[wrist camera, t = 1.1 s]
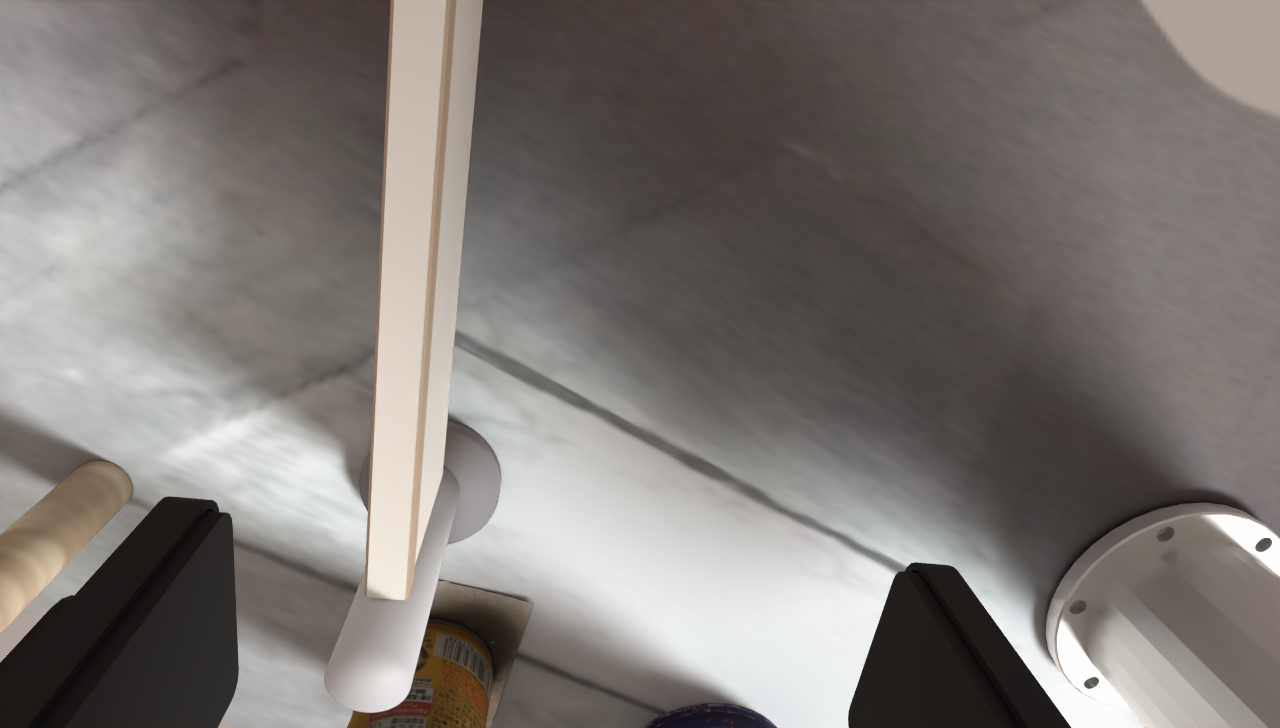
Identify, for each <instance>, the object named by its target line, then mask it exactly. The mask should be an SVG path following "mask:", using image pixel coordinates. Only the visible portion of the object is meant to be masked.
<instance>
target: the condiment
mask: <svg viewBox="0 0 1280 728" xmlns="http://www.w3.org/2000/svg"><path fill="white" fill-rule="evenodd" d="M532 607H533V603H530V602H526V601H522V600H517V599H516V598H513V597H508V596H504V595H501V594H496V593H491V592H486V591H484V590H480V589H476V588H471V587H466V586H461V585H456V584H452V583H450V582H448V581H438V582H437V586H436V590H435V594H434V598H433V602H432V606H431V610H430V614H429V618H428V622H427V626H426V630H425V634H424V637H423V641H422V645H421V649H420V653H419V657H418V661H417V665H416V669H415V673H414V677H413V681H412V685H411V689H410V691H409V693H408V695H407V697H406V698H405V699H404V700H403V701H402V702H401V703H400V704H398V705H397V706H395V707H393V708H391V709H389V710H386V711H382V712H374V713H366V712H359V711H354V710H353V715H352V718H351V720H350V722H349V724H348V727H347V728H486V727H491V725H492V722H493V719H494V716H495V713H496V710H497V707H498V704H499V701H500V698H501V696H502V693H503V689H504V686H505V684H506V681H507V678H508V675H509V672H510V670H511V667H512V664H513V661H514V659H515V656H516V652H517V650H518V647H519V644H520V641H521V638H522V635H523V632H524V629H525V627H526V624H527V621H528V619H529V616H530V613H531V610H532ZM492 641H494V643H491V642H492Z"/></svg>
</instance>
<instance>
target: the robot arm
mask: <svg viewBox="0 0 1280 728" xmlns="http://www.w3.org/2000/svg"><path fill="white" fill-rule="evenodd" d="M1046 639H1047V644H1048V649H1049V652H1050V654H1051V656H1052V658H1053V660H1054V662H1055V664H1056V666H1057V667H1058V668H1059V670H1060V671H1061V672H1062V673H1063V675H1064V676H1065V677H1066V679H1067V680H1068V681H1069V682H1070V683H1071V684H1072V685H1073V686H1074V687H1075V688H1076V689H1077V690H1078V691H1080V692H1081V693H1083V694H1085V695H1087V696H1089V697H1091V698H1093V699H1095V700H1097V701H1101V702H1105V703H1108V704H1112V705H1118V706H1128V707H1129V708H1130V710H1131V711H1132V712H1133V713H1134V714H1135V716H1136V717H1137V718H1138V719H1139V720H1140V722H1141V723H1142V724H1143V725H1144V727H1145V728H1280V537H1279V536H1278V535H1277V534H1276V533H1274V532H1273V531H1272V530H1271V529H1270V528H1268V527H1267V526H1266V525H1265V524H1263V523H1262V522H1260V521H1259V520H1257V519H1256V518H1254V517H1252V516H1251V515H1249V514H1248V513H1246V512H1244V511H1242V510H1239V509H1236V508H1233V507H1230V506H1227V505H1221V504H1212V503H1190V504H1179V505H1175V506H1170V507H1166V508H1161V509H1157V510H1155V511H1152V512H1149V513H1147V514H1144V515H1141V516H1139V517H1136V518H1134V519H1132V520H1130V521H1128V522H1126V523H1124V524H1123V525H1121V526H1119V527H1117V528H1115V529H1114V530H1112V531H1110V532H1109V533H1108V534H1106V535H1105V536H1104V537H1102V538H1101V539H1100V540H1098V541H1097V542H1096V543H1094V544H1093V545H1092V546H1091V547H1090V548H1089V549H1088V550H1086V551H1085V552H1084V553H1083V554H1082V555H1081V556H1080V557H1079V558H1078V559H1077V560H1076V561H1075V563H1074V564H1073V565H1072V567H1071V568H1070V569H1069V571H1068V572H1067V573H1066V575H1065V576H1064V577H1063V579H1062V580H1061V582H1060V584H1059V586H1058V588H1057V590H1056V592H1055V594H1054V596H1053V598H1052V600H1051V604H1050V607H1049V611H1048V614H1047V620H1046ZM238 672H239V667H238V644H237V621H236V598H235V575H234V551H233V528H232V518H231V516H230V514H228V513H222V512H219V508H218V506H217V503H216V502H215V501H213V500H203V499H192V498H181V497H164V498H163V499H162V500H161V501H160V502H159V503H158V504H157V505H156V506H155V507H154V508H153V509H152V510H151V511H150V513H149V514H148V515H147V516H146V517H145V518H144V519H143V520H142V521H141V522H140V524H139V525H138V526H137V527H136V528H135V529H134V530H133V531H132V532H131V534H130V535H129V536H128V537H127V538H126V539H125V540H124V541H123V542H122V544H121V545H120V546H119V547H118V548H117V549H116V550H115V551H114V552H113V553H112V555H111V556H110V557H109V558H108V559H107V560H106V561H105V562H104V563H103V565H102V566H101V567H100V568H99V569H98V570H97V571H96V572H95V573H94V575H93V576H92V577H91V578H90V579H89V580H88V581H87V582H86V583H85V584H84V586H83V587H82V588H81V589H80V590H79V591H78V592H77V593H76V594H75V596H73V595H71V596H68V597H66V598H63V599H61V600H60V601H59V602H58V603H56V604H55V605H54V606H53V607H52V608H51V609H50V610H49V611H48V612H47V613H46V614H45V615H44V616H43V617H42V618H41V619H40V620H39V622H38V623H37V624H36V625H35V626H34V627H33V628H32V629H31V630H30V631H29V632H28V633H27V635H26V636H25V637H24V638H23V639H22V640H21V641H20V642H19V643H18V644H17V645H16V647H15V648H14V649H13V650H12V651H11V652H10V653H9V654H8V655H7V656H6V657H5V658H4V659H3V660H2V662H1V663H0V728H218V726H219V724H220V722H221V720H222V718H223V716H224V714H225V712H226V710H227V708H228V707H229V705H230V703H231V700H232V698H233V696H234V693H235V690H236V686H237V681H238ZM848 724H849V728H1071V727H1070V725H1069V724H1068V723H1067V721H1066V720H1065V719H1064V717H1063V716H1062V714H1061V713H1060V712H1059V710H1058V709H1057V707H1056V706H1055V705H1054V703H1053V702H1052V701H1051V699H1050V698H1049V696H1048V695H1047V694H1046V692H1045V691H1044V689H1043V688H1042V687H1041V685H1040V684H1039V683H1038V681H1037V680H1036V678H1035V677H1034V676H1033V674H1032V673H1031V671H1030V670H1029V669H1028V667H1027V666H1026V665H1025V663H1024V662H1023V660H1022V659H1021V658H1020V656H1019V655H1018V654H1017V652H1016V651H1015V649H1014V648H1013V647H1012V645H1011V644H1010V642H1009V641H1008V640H1007V638H1006V637H1005V636H1004V634H1003V633H1002V631H1001V630H1000V629H999V627H998V626H997V624H996V623H995V622H994V620H993V619H992V618H991V616H990V615H989V613H988V612H987V611H986V609H985V608H984V606H983V605H982V604H981V602H980V601H979V600H978V598H977V597H976V595H975V594H974V593H973V591H972V590H971V588H970V587H969V586H968V584H967V583H966V582H965V580H964V579H963V577H962V576H961V575H960V573H959V572H958V571H957V570H956V569H955V568H954V567H952V566H949V565H938V564H927V563H916V562H915V563H911V564H910V565H909V566H908V567H907V568H906V570H905V572H903V571H901V572H898V573H897V574H896V575H895V578H894V580H893V582H892V585H891V588H890V591H889V594H888V597H887V600H886V603H885V606H884V609H883V612H882V615H881V618H880V620H879V623H878V626H877V629H876V632H875V635H874V638H873V641H872V644H871V647H870V650H869V653H868V656H867V659H866V661H865V664H864V667H863V670H862V673H861V676H860V679H859V682H858V685H857V688H856V691H855V694H854V697H853V699H852V702H851V705H850V709H849V716H848Z"/></svg>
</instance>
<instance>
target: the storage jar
mask: <svg viewBox="0 0 1280 728" xmlns="http://www.w3.org/2000/svg"><path fill="white" fill-rule="evenodd" d="M644 728H777V727H776V726H775V725H774V724H773V723H772V722H771V721H769V720H768V719H767V718H765V717H764V716H762V715H760V714H758V713H756V712H754V711H752V710H750V709H747V708H744V707H741V706H735V705H730V704H718V703H710V704H698V705H692V706H687V707H683V708H680V709H677V710H674V711H671V712H669V713H667V714H664V715H662V716H660V717H658V718H657V719H655V720H653V721H652V722H650V723H648V724H647V725H646V726H645V727H644Z"/></svg>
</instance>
